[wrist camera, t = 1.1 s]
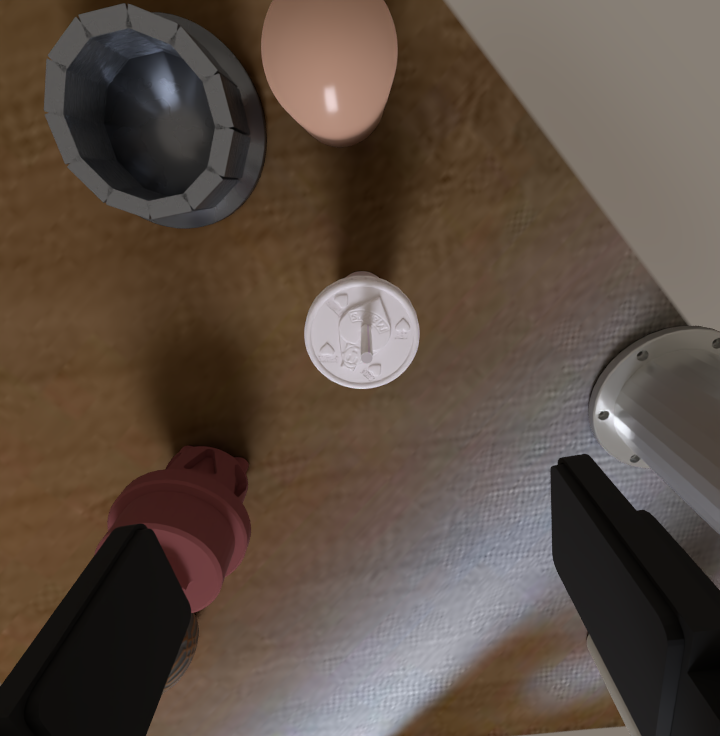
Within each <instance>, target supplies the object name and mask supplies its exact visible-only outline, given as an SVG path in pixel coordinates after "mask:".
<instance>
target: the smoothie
mask: <svg viewBox="0 0 720 736" xmlns="http://www.w3.org/2000/svg"><path fill="white" fill-rule="evenodd" d="M305 344H306V348H307V352H308V354H309V356H310V358H311V360H312V362H313V363H314V365H315V366H316V367H317V369H318V370H319V371H320V372H321V373H322V374H323V375H325V376H326V377H327V378H329V379H330V380H332V381H333V382H335V383H337V384H340V385H343V386H346V387H350V388H357V389H367V388H374V387H378V386H381V385H384V384H387V383H389V382H391V381H392V380H394V379H395V378H397V377H398V376H399V375H401V374H402V373H403V372H404V371H405V370H406V369H407V367H408V366H409V365H410V363H411V362H412V360H413V358H414V356H415V354H416V351H417V348H418V344H419V324H418V320H417V315H416V311H415V309H414V307H413V306H412V304H411V302H410V300H409V298H408V297H407V296H406V295H405V294H404V293H403V292H402V291H401V290H400V289H399V288H398V287H396V286H395V285H393V284H391V283H390V282H388V281H386V280H384V279H380V278H379V277H377V276H376V275H375V274H373V273H370V272H366V271H358V272H354V273H351V274H350V275H348V276H347V277H345V278H343V279H340V280H338V281H336V282H334V283H333V284H331V285H329V286H327V287H326V288H325V289H324V290H323V291H322V292H321V293H320V294H319V295H318V296H317V297H316V298H315V300H314V302H313V303H312V305H311V307H310V309H309V311H308V315H307V319H306V323H305Z"/></svg>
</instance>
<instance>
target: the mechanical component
mask: <svg viewBox="0 0 720 736" xmlns="http://www.w3.org/2000/svg"><path fill="white" fill-rule="evenodd" d="M248 467H249V464H248V462H247V461H246V460H245V459H244V458H241V457H232V456H231V455H229V454H228V453H226V452H224V451H221V450H219V449H216V448H212V447H206V446H197V447H193V446H184V447H183V448H182V449H181V450H180V452H179V453H177V454H176V455H175V456H174V457H173V458H172V459H171V461H170V462H169V463H168V465H167V467H166V469H165V470H158V471H154V472H150V473H147V474H145V475H142V476H140V477H138V478H137V479H135V480H133V481H132V482H131V483H130V484H129V485H128V486H127V487H126V488H125V489H124V490H123V492H122V493H121V494H120V495H119V497H118V498H117V499H116V500H115V502H114V503H113V505H112V507H111V509H110V512H109V515H108V521H107V522H108V532H107V533H106V535H105V536H104V537H103V539H102V540H101V541H100V543H99V544H98V546H97V548H96V550H95V554H96V553H97V551H98V550H99V549H100V547H101V546H102V544H103V543H104V542H105V540H106V539H107V537H108V536H109V535H110V533H111V532H112V531H113V530H114V529H115V528H117V527H120V526H126V525H133V524H139V523H140V524H144V525H146V526H147V528H148V529H152V530H153V531H154V533H155V535H156V537H157V539H158V541H159V543H160V545H161V547H162V549H163V551H164V553H165V555H166V557H167V559H168V561H169V563H170V565H171V567H172V569H173V571H174V573H175V575H176V577H177V579H178V581H179V583H180V585H181V587H182V589H183V591H184V593H185V595H186V597H187V599H188V601H189V603H190V606H191V613H194V612H197V611H199V610H201V609H203V608H205V607H206V606H208V605H209V604H210V603H211V602H212V601H213V600H214V599H215V598H216V597H217V595H218V594H219V592H220V589H221V587H222V584H223V581H224V578H225V577H226V576H227V575H229V574H231V573H232V572H233V571H234V570H235V569H236V568H237V567H238V566H239V564H240V563H241V561H242V560H243V558H244V556H245V553H246V550H247V547H248V544H249V540H250V536H251V524H250V519H249V516H248V513H247V511H246V509H245V507H244V505H243V504H242V503H243V501H244V498H245V496H246V493H247V489H248V479H247V476H246V472H247V470H248ZM94 556H95V555H94Z"/></svg>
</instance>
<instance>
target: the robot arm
mask: <svg viewBox="0 0 720 736" xmlns="http://www.w3.org/2000/svg"><path fill="white" fill-rule="evenodd" d="M588 416H589V423H590V428H591V430H592V432H593V435H594V437H595V438H596V440H597V441H598V442H599V444H600V445H601V446H602V447H603V448H604V449H605V450H606V451H607V452H608V453H609V454H610V455H611V456H612V457H614V458H615V459H617V460H618V461H620V462H622V463H625V464H627V465H630V466H633V467H639V468H645V469H652V470H653V471H654V472H655V473H656V474H657V475H658V476H659V477H660V478H661V479H662V480H663V481H664V482H666V483H667V484H668V485H669V486H670V487H671V488H672V489H673V490H674V491H675V492H676V493H677V494H678V495H679V496H680V497H681V498H682V499H683V500H684V501H685V502H686V503H687V504H688V505H689V506H690V507H691V508H692V509H693V510H694V511H695V512H696V513H697V514H698V515H699V516H700V517H701V518H702V519H704V520H705V521H706V522H707V523H708V524H709V525H710V526H711V527H712V528H713V529H714V530H715V531H716V532H717V533H718V534H719V535H720V332H719V331H717V330H714V329H711V328H706V327H701V326H679V327H673V328H667V329H664V330H661V331H658V332H655V333H652V334H649V335H647V336H645V337H643V338H641V339H639V340H638V341H636V342H634V343H633V344H631V345H630V346H628V347H627V348H626V349H624V350H623V351H621V352H620V353H619V354H618V355H617V356H616V357H615V358H614V359H613V360H612V361H611V362H610V363H609V364H608V366H607V367H606V368H605V370H604V371H603V372H602V374H601V375H600V376H599V378H598V380H597V382H596V384H595V386H594V388H593V391H592V394H591V398H590V401H589V412H588ZM551 514H552V555H553V561H554V564H555V567H556V570H557V572H558V574H559V576H560V578H561V580H562V582H563V584H564V586H565V588H566V590H567V592H568V594H569V596H570V598H571V599H572V601H573V603H574V605H575V607H576V609H577V611H578V613H579V615H580V617H581V619H582V621H583V623H584V625H585V627H586V629H587V631H588V633H589V635H590V637H591V639H592V640H593V642H594V644H595V646H596V648H597V650H598V652H599V654H600V656H601V658H602V660H603V662H604V664H605V666H606V668H607V670H608V672H609V674H610V676H611V678H612V680H613V681H614V683H615V685H616V687H617V689H618V691H619V693H620V695H621V697H622V699H623V701H624V703H625V705H626V707H627V709H628V711H629V713H630V715H631V717H632V719H633V721H634V722H635V724H636V726H637V728H638V730H639V732H640V734H641V736H720V590H719V589H718V588H717V587H716V586H715V585H714V583H713V582H712V581H711V580H710V579H709V578H708V577H707V576H706V575H705V573H704V572H703V571H702V570H701V569H700V568H699V567H698V566H697V564H696V563H695V562H694V561H693V560H692V559H691V558H690V557H689V555H688V554H687V553H686V552H685V551H684V550H683V549H682V548H681V546H680V545H679V544H678V543H677V542H676V541H675V540H674V539H673V537H672V536H671V535H670V534H669V533H668V532H667V531H666V530H665V528H664V527H663V526H662V525H661V524H660V523H659V522H658V521H657V519H656V518H655V517H653V516H652V515H651V514H650V513H649V512H647V511H645V510H639V511H636V510H635V508H634V507H633V506H632V505H631V504H630V503H629V501H628V500H627V499H626V498H625V497H624V496H623V494H622V493H621V492H620V491H619V490H618V488H617V487H616V486H615V485H614V484H613V483H612V481H611V480H610V479H609V478H608V477H607V476H606V474H605V473H604V472H603V471H602V470H601V469H600V467H599V466H598V465H597V464H596V463H595V462H594V460H593V459H592V458H591V457H590V456H589V455H587V454H582V455H575V456H569V457H562V458H559V460H558V465H555V466H552V467H551ZM190 620H191V606H190V603H189V601H188V599H187V597H186V595H185V593H184V591H183V589H182V587H181V585H180V583H179V581H178V579H177V577H176V575H175V573H174V571H173V569H172V567H171V565H170V563H169V561H168V559H167V557H166V555H165V553H164V551H163V549H162V547H161V545H160V543H159V541H158V539H157V537H156V535H155V533H154V531H153V530H152V529H148V528H147V526H146V525H144V524H140V523H139V524H133V525H126V526H120V527H117V528H115V529H114V530H113V531H112V532H111V533H110V535H109V536H108V537H107V539H106V540H105V542H104V543H103V544H102V546H101V547H100V549H99V550H98V551H97V553H96V554H95V556H94V557H93V558H92V560H91V561H90V563H89V564H88V565H87V567H86V568H85V570H84V571H83V572H82V574H81V575H80V576H79V578H78V579H77V581H76V582H75V583H74V585H73V586H72V588H71V589H70V590H69V592H68V593H67V595H66V596H65V597H64V599H63V600H62V602H61V603H60V604H59V606H58V607H57V608H56V610H55V611H54V613H53V614H52V615H51V617H50V618H49V620H48V621H47V622H46V624H45V625H44V627H43V628H42V629H41V631H40V632H39V634H38V635H37V636H36V638H35V639H34V641H33V642H32V643H31V645H30V646H29V647H28V649H27V650H26V652H25V653H24V654H23V656H22V657H21V659H20V660H19V661H18V663H17V664H16V666H15V667H14V668H13V670H12V671H11V673H10V674H9V675H8V677H7V678H6V679H5V681H4V682H3V684H2V685H1V686H0V736H146V734H147V731H148V729H149V726H150V723H151V721H152V718H153V716H154V713H155V711H156V708H157V705H158V703H159V700H160V698H161V695H162V693H163V690H164V687H165V685H166V682H167V680H168V677H169V675H170V672H171V670H172V667H173V664H174V662H175V659H176V657H177V654H178V652H179V649H180V646H181V644H182V641H183V639H184V636H185V634H186V631H187V628H188V626H189V623H190Z"/></svg>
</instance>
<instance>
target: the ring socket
mask: <svg viewBox="0 0 720 736" xmlns="http://www.w3.org/2000/svg"><path fill="white" fill-rule="evenodd" d="M79 18H80V19H79ZM79 18H77V17H75V18H74V20H73V21H72V23H71V24H70V25H69V27H68V28H67V29H66V31H65V32H64V34H63V35H62V36H61V38H60V39H59V41H58V42H57V43H56V45H55V46H54V47H53V49H52V50H51V52H50V53H49V54H48V56H49V57H50V58H51V59H52V60H53V61H51V60H49V59H47V62H46V81H45V101H44V111H46V112H49V113H48V114H45V116H46V119H47V121H48V124H49V126H50V128H51V131H52V133H53V136H54V138H55V141H56V143H57V145H58V148H59V150H60V153H61V155H62V157H63V160H64V162H65V164H69V165H68V168H69V169H70V170H71V171H72V172H73V173H74V174H75V175H76V176H77V177H78V178H79V179H80V180H81V181H82V182H83V183H84V184H85V185H86V186H87V187H88V188H89V189H90V190H91V191H92V192H93V193H94V194H95V195H96V196H97V197H98V198H99V199H100V200H101V201H102V202H103V203H105V202H107V203H106V204H107V205H110V206H113V207H115V208H118V209H121V210H124V211H127V212H130V213H133V214H136V215H138V216H140V217H142V218H144V219H146V220H149V221H151V222H153V223H156V224H160V225H163V226H167V227H174V228H196V227H202V226H206V225H209V224H213V223H216V222H218V221H220V220H223V219H225V218H226V217H228V216H230V215H231V214H233V213H234V212H235V211H236V210H238V209H239V208H240V207H241V206H242V205H243V204H244V203H245V201H246V200H247V199H248V198H249V197H250V195H251V194H252V192H253V190H254V189H255V187H256V185H257V183H258V181H259V178H260V176H261V173H262V170H263V166H264V162H265V156H266V146H267V134H266V123H265V117H264V112H263V108H262V105H261V102H260V98H259V96H258V93H257V91H256V89H255V86H254V84H253V82H252V80H251V79H250V77H249V75H248V73H247V71H246V70H245V69H244V67H243V66H242V64H241V63H240V62H239V60H238V59H237V58H236V57H235V55H234V54H233V53H232V52H231V51H230V50H229V49H228V48H227V47H226V46H225V45H224V44H223V43H222V42H221V41H220V40H219V39H218V38H216V37H215V36H214V35H213V34H212V33H210V32H209V31H207V30H206V29H204V28H203V27H201V26H200V25H198V24H196V23H194V22H191V21H189V20H187V19H185V18H182V17H179V16H176V15H172V14H166V13H160V12H148V11H146V10H143V9H141V8H138V7H136V6H133V5H131V4H128V5H127V4H125V3H123V4H119V5H115V6H111V7H107V8H103V9H99V10H95V11H91V12H87V13H83V14H79Z"/></svg>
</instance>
